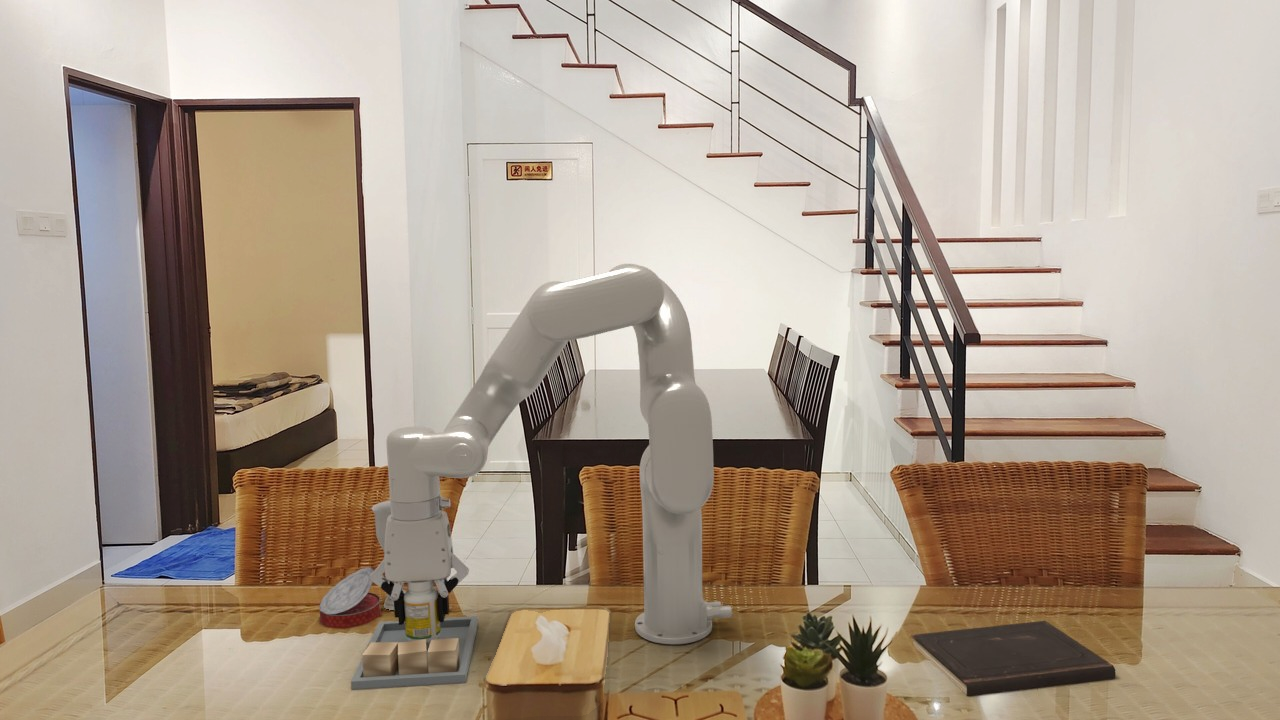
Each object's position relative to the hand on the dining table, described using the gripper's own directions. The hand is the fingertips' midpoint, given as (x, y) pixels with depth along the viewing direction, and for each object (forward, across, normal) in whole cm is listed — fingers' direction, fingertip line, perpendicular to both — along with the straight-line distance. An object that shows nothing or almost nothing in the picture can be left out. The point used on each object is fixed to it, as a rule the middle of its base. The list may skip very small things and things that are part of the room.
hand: (422, 618), depth 138 cm
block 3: (+4, -4, +9) cm, 11 cm away
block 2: (+4, 0, +9) cm, 10 cm away
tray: (+5, 0, +3) cm, 6 cm away
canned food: (+5, +14, -13) cm, 20 cm away
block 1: (+4, +5, +9) cm, 11 cm away
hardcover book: (+6, -88, +16) cm, 89 cm away
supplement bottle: (+3, 0, 0) cm, 3 cm away
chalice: (+5, +7, -18) cm, 20 cm away
